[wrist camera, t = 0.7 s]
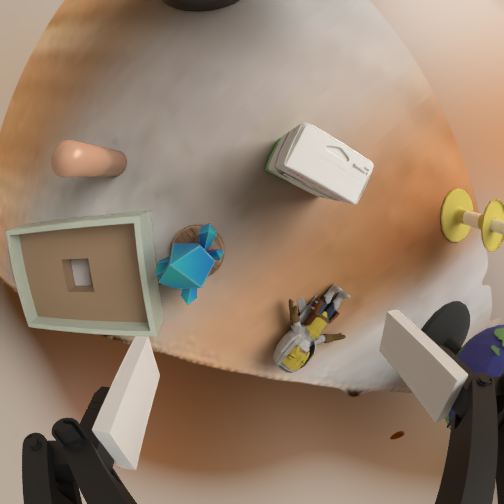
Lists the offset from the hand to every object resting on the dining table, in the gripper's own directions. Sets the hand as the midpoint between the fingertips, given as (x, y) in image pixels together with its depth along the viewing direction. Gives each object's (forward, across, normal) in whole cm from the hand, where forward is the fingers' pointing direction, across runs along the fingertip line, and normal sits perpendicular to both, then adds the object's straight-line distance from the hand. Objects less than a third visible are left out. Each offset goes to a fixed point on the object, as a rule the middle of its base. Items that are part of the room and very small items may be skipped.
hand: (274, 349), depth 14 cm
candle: (+25, +39, +2) cm, 46 cm away
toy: (+24, +9, -14) cm, 29 cm away
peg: (+24, -17, +12) cm, 32 cm away
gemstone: (+24, -7, -1) cm, 25 cm away
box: (+24, -25, -2) cm, 35 cm away
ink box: (+25, +8, +10) cm, 27 cm away
